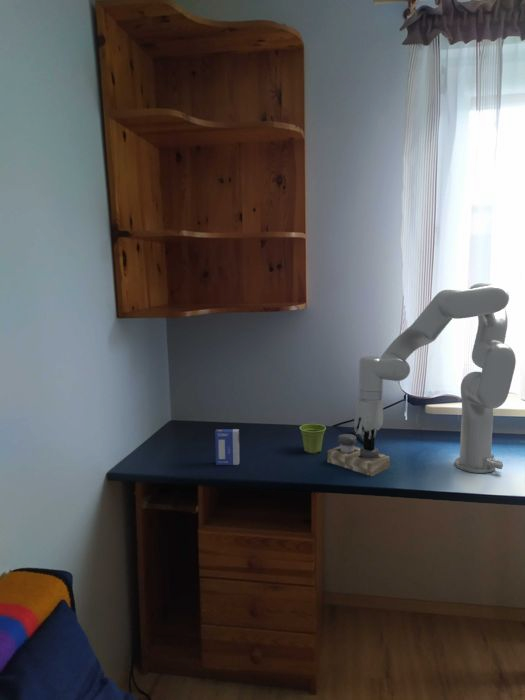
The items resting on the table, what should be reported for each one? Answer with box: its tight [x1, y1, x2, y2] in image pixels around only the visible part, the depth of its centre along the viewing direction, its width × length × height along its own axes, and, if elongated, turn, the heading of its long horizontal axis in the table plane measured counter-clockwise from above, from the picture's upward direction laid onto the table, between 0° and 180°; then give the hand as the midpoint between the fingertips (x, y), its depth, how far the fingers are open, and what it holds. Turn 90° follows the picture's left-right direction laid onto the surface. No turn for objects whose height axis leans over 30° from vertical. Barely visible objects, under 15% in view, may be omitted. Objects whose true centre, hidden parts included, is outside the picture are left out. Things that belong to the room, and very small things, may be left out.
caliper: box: [353, 427, 364, 441], centre depth 203 cm, size 20×1×6 cm, turn 6°
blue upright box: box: [214, 428, 240, 466], centre depth 180 cm, size 8×3×12 cm, turn 90°
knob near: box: [359, 446, 380, 461], centre depth 175 cm, size 6×6×6 cm
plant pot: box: [299, 423, 327, 454], centre depth 192 cm, size 9×9×9 cm
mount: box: [326, 445, 391, 477], centre depth 178 cm, size 18×10×4 cm, turn 44°
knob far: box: [337, 433, 357, 454], centre depth 181 cm, size 6×6×6 cm
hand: (368, 449), depth 174 cm, fingers closed
